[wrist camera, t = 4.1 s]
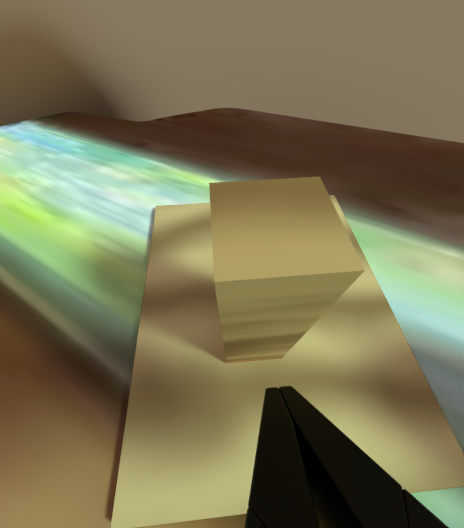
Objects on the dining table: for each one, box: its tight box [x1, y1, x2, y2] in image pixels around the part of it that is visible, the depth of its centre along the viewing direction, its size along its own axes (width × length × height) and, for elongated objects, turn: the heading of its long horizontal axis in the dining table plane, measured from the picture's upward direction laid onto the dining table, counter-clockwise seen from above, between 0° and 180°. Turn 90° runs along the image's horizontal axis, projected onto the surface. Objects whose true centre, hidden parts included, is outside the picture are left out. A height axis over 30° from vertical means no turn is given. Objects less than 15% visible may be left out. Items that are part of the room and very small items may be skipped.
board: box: [111, 195, 464, 528], centre depth 19 cm, size 24×20×1 cm
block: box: [209, 177, 365, 363], centre depth 12 cm, size 4×4×12 cm
